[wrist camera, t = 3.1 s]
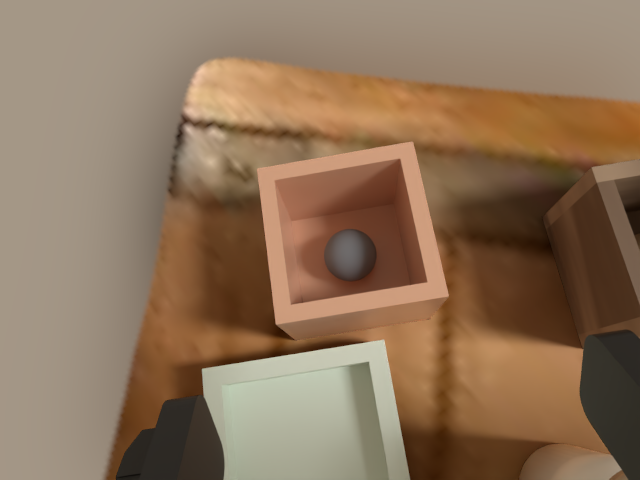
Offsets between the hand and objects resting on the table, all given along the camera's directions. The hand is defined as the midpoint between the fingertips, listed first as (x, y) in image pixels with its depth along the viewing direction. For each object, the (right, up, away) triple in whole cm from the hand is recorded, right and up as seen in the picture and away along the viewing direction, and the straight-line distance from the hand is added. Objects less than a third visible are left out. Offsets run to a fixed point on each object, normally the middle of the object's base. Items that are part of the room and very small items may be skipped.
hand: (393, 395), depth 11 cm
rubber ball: (0, +2, +19) cm, 19 cm away
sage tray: (-2, -10, +17) cm, 20 cm away
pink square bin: (0, +2, +20) cm, 20 cm away
